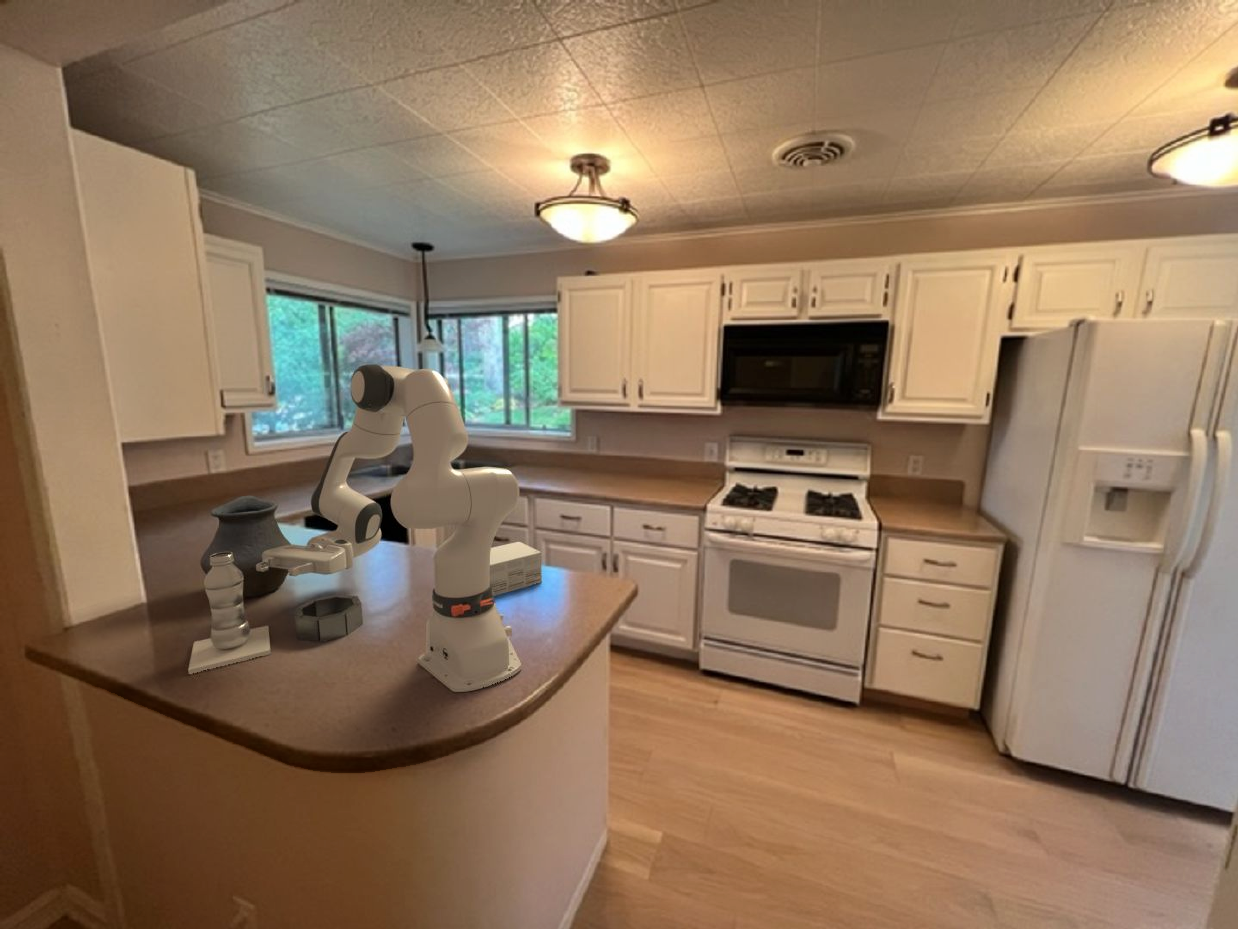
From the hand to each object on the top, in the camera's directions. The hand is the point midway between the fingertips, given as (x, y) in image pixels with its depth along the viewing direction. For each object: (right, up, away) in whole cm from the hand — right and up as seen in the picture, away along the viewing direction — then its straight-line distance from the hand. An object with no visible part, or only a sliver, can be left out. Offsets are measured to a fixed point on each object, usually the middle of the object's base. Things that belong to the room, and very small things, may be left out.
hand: (274, 570), depth 114 cm
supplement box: (+46, -10, +30) cm, 55 cm away
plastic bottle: (-3, -14, -8) cm, 17 cm away
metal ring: (+11, -14, +2) cm, 18 cm away
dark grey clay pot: (-21, -10, +22) cm, 32 cm away
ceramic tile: (-3, -15, -8) cm, 17 cm away
